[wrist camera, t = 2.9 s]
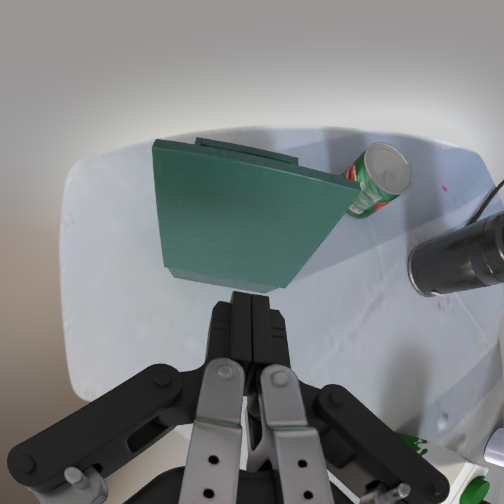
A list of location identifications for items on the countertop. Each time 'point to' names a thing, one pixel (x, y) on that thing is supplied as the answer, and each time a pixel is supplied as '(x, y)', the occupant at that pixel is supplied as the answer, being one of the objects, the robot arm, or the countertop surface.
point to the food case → (225, 281)
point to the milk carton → (454, 471)
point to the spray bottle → (495, 448)
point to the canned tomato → (378, 178)
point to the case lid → (242, 212)
